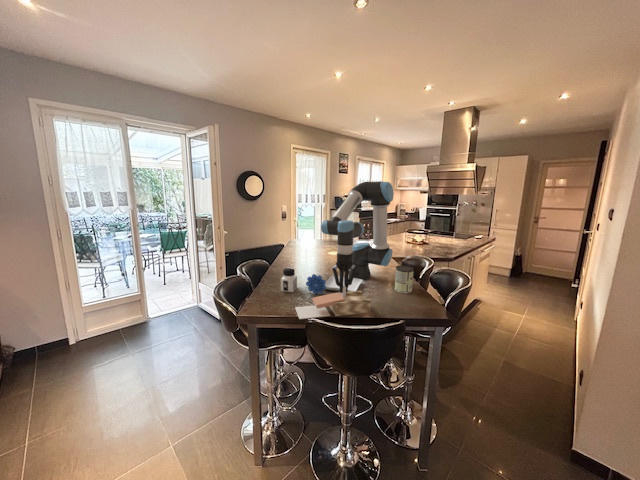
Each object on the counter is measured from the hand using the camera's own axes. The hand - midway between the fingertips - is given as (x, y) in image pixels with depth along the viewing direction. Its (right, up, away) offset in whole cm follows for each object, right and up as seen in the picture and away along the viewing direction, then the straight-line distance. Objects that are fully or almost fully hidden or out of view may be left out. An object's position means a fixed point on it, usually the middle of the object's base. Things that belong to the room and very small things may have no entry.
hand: (343, 298), depth 131 cm
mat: (-16, -6, -2) cm, 17 cm away
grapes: (-14, -2, +19) cm, 24 cm away
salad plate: (+2, 0, +31) cm, 32 cm away
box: (+3, -6, +2) cm, 7 cm away
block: (-7, -2, -2) cm, 8 cm away
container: (-30, -1, +26) cm, 40 cm away
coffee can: (+39, -1, +28) cm, 48 cm away
